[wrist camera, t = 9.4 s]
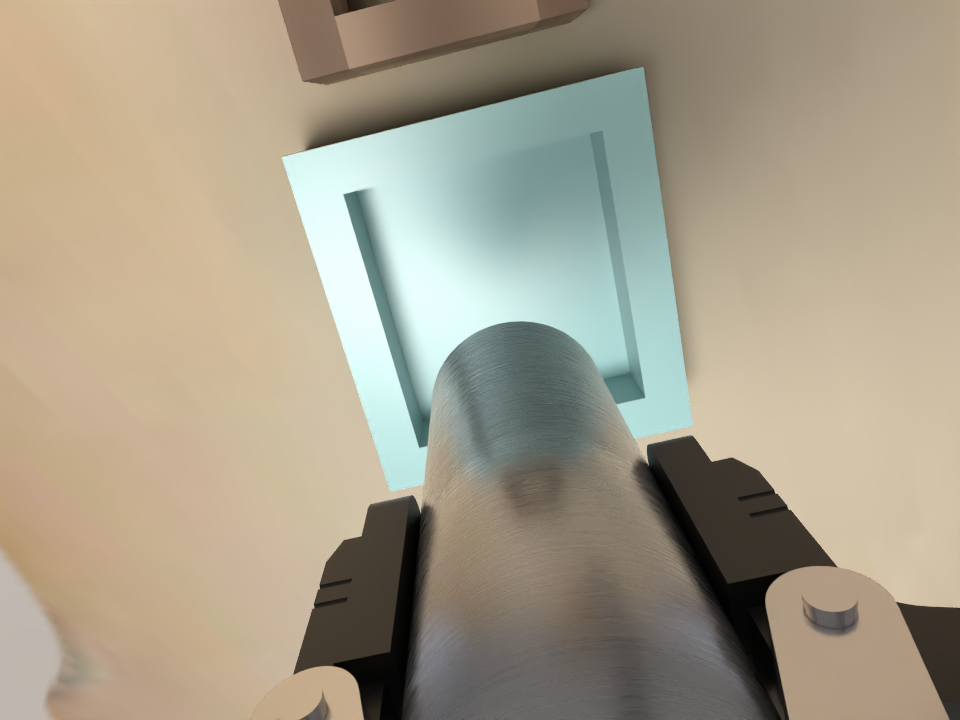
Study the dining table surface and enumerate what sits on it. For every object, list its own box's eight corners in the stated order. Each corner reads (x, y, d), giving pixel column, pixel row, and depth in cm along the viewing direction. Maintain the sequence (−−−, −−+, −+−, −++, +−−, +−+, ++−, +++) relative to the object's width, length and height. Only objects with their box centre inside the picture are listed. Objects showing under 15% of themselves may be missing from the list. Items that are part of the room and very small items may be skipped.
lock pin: (587, 303, 15) (1443, 1623, 2) (615, 458, 16) (1230, 1843, 3) (412, 343, 15) (122, 1771, 2) (455, 493, 17) (435, 1926, 4)
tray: (619, 71, 25) (643, 66, 22) (667, 390, 29) (692, 426, 26) (304, 150, 26) (281, 157, 22) (398, 449, 30) (390, 491, 27)
